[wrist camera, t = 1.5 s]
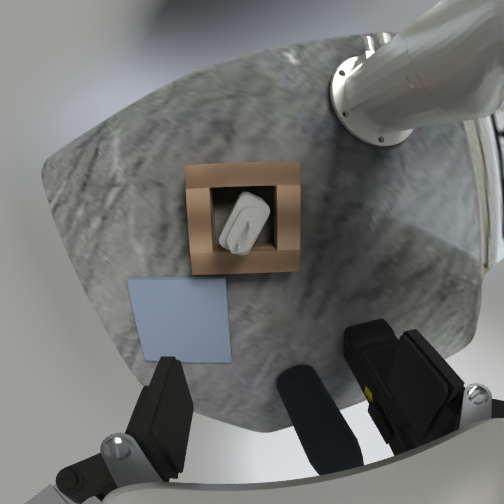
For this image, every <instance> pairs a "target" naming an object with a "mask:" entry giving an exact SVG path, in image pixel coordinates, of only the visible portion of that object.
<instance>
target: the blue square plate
mask: <svg viewBox="0 0 504 504" xmlns="http://www.w3.org/2000/svg"><path fill="white" fill-rule="evenodd" d="M127 284H128V289H129V294H130V299H131V304H132V308H133V313H134V317H135V322H136V326H137V330H138V334H139V338H140V342H141V345H142V349H143V353H144V356H145V360H148V361H159V360H160V357H162V356H174V357H175V358H176V360H180V361H181V362H190V363H232V352H231V340H230V327H229V314H228V300H227V285H226V276H191V277H130V278H129V279H128V280H127Z"/></svg>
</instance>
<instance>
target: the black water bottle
mask: <svg viewBox="0 0 504 504" xmlns="http://www.w3.org/2000/svg"><path fill="white" fill-rule="evenodd" d="M276 386H277V389H278V391H279V393H280V396H281V398H282V401H283V403H284V405H285V408H286V410H287V412H288V414H289V417H290V419H291V421H292V424H293V426H294V428H295V431H296V433H297V435H298V437H299V440H300V442H301V444H302V446H303V449H304V451H305V453H306V455H307V457H308V459H309V462H310V463H311V465H312V466H313V468H314V469H315V470H316V471H317V473H318V474H319V475H326V474H331V473H335V472H340V471H344V470H349V469H353V468H356V467H360V466H364V463H363V456H362V453H361V449H360V446H359V443H358V441H357V438H356V437H355V435H354V434H353V432H352V430H351V429H350V427H349V425H348V424H347V422H346V420H345V419H344V417H343V416H342V414H341V413H340V411H339V409H338V407H337V406H336V404H335V403H334V401H333V399H332V398H331V396H330V394H329V393H328V391H327V389H326V388H325V386H324V385H323V383H322V381H321V380H320V378H319V376H318V375H317V373H316V371H315V370H314V369H313V367H311V366H309V365H298V366H295V367H292V368H290V369H288V370H286V371H285V372H284V373H283V374H282V375H281V376H280V377H279V379H278V380H277V385H276Z"/></svg>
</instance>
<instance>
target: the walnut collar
mask: <svg viewBox="0 0 504 504" xmlns="http://www.w3.org/2000/svg"><path fill="white" fill-rule="evenodd" d="M185 185H186V203H187V219H188V232H189V245H190V256H191V266H192V275H211V274H243V273H269V272H293V271H300V223H301V187H300V162H236V163H215V164H199V165H186V166H185ZM270 185H273V201H274V243H254V244H253V246H252V248H251V250H250V251H249V253H248V254H246V255H238V254H233V253H231V251H230V250H228V249H226V248H224V247H222V246H221V244H220V245H216V240H215V222H214V202H213V187H234V186H270Z"/></svg>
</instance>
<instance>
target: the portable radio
mask: <svg viewBox="0 0 504 504" xmlns="http://www.w3.org/2000/svg"><path fill="white" fill-rule="evenodd" d="M398 342H399V340H398V339H397V337H396V336H395V334H394V332H393V330H392V328H391V327H390V326H389V324H388V323H387V322H386V321H385V320H384V319H379V320H375V321H371V322H367V323H363V324H359V325H355V326H350V327H348V328H347V329H346V331H345V335H344V358H345V360H346V362H347V363H348V365H349V367H350V369H351V370H352V372H353V374H354V376H355V378H356V379H357V381H358V383H359V385H360V387H361V389H362V391H363V393H364V395H365V397H366V399H367V401H368V403H369V408H368V413H369V414H370V416H371V418H372V420H373V421H374V423H375V425H376V426H377V428H378V430H379V432H380V434H381V435H382V437H383V439H384V441H385V442H386V444H388V443H389V445H390V447H391V449H392V452H393V454H394V456H396V455H399V454H402V453H404V452H407V451H410V450H412V449H415V448H417V447H420V446H422V445H424V444H427V443H429V442H432V441H434V440H436V439H435V438H433V439H431V440H429V441H426V442H423V440H422V438H419V437H418V436H417V435H416V433H415V431H414V429H413V427H412V426H411V424H410V422H409V420H408V419H407V417H406V415H405V413H404V411H403V410H402V408H401V406H400V404H399V403H398V401H397V399H396V398H395V396H394V394H393V392H392V391H391V389H390V387H389V384H388V380H389V376H390V373H391V369H392V366H393V362H394V358H395V355H396V351H397V347H398Z"/></svg>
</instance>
